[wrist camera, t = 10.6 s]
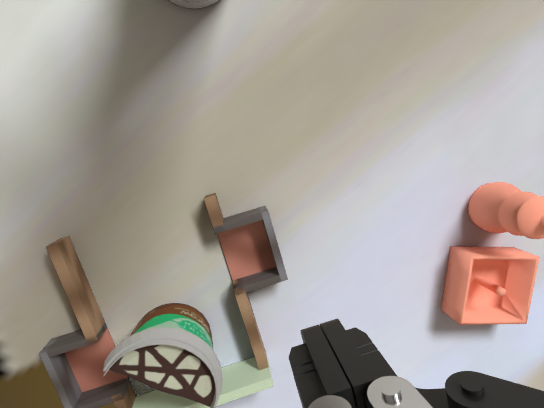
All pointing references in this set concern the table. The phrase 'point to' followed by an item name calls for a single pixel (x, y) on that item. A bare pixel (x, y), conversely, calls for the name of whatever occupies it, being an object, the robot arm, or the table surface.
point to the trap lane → (98, 343)
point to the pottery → (495, 260)
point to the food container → (171, 354)
